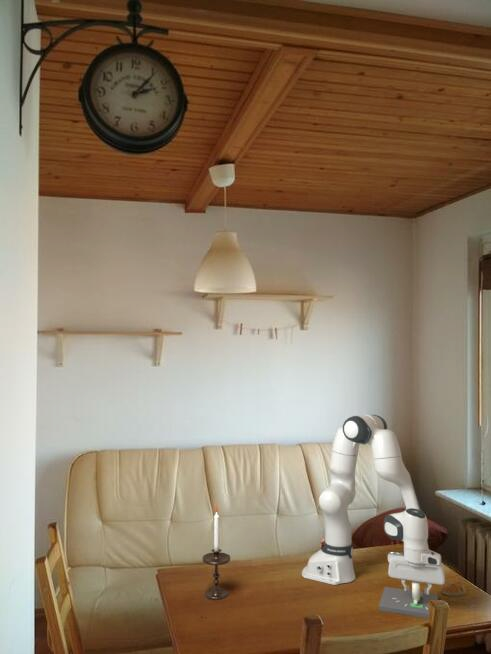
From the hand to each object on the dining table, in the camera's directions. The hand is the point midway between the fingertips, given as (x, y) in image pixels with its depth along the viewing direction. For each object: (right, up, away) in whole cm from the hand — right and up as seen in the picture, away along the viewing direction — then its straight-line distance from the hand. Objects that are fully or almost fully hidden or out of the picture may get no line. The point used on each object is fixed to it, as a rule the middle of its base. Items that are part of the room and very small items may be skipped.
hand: (416, 592), depth 203 cm
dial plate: (-2, -6, +3) cm, 7 cm away
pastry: (+19, -7, +13) cm, 24 cm away
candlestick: (-75, -6, +11) cm, 76 cm away
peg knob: (+1, -4, +2) cm, 5 cm away
